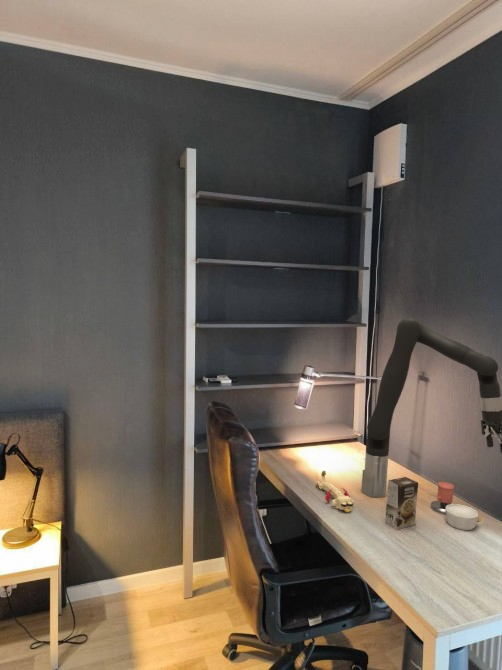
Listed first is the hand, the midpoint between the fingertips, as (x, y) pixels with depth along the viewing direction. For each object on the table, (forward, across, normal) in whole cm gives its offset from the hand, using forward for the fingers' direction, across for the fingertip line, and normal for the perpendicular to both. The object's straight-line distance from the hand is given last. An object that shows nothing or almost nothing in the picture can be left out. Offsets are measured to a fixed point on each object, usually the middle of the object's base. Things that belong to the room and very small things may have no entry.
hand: (497, 449), depth 178 cm
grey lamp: (+22, -6, -21) cm, 31 cm away
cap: (+18, -5, -21) cm, 28 cm away
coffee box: (+19, +6, -44) cm, 48 cm away
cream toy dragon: (+15, -14, -63) cm, 66 cm away
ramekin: (+23, +6, -21) cm, 32 cm away
